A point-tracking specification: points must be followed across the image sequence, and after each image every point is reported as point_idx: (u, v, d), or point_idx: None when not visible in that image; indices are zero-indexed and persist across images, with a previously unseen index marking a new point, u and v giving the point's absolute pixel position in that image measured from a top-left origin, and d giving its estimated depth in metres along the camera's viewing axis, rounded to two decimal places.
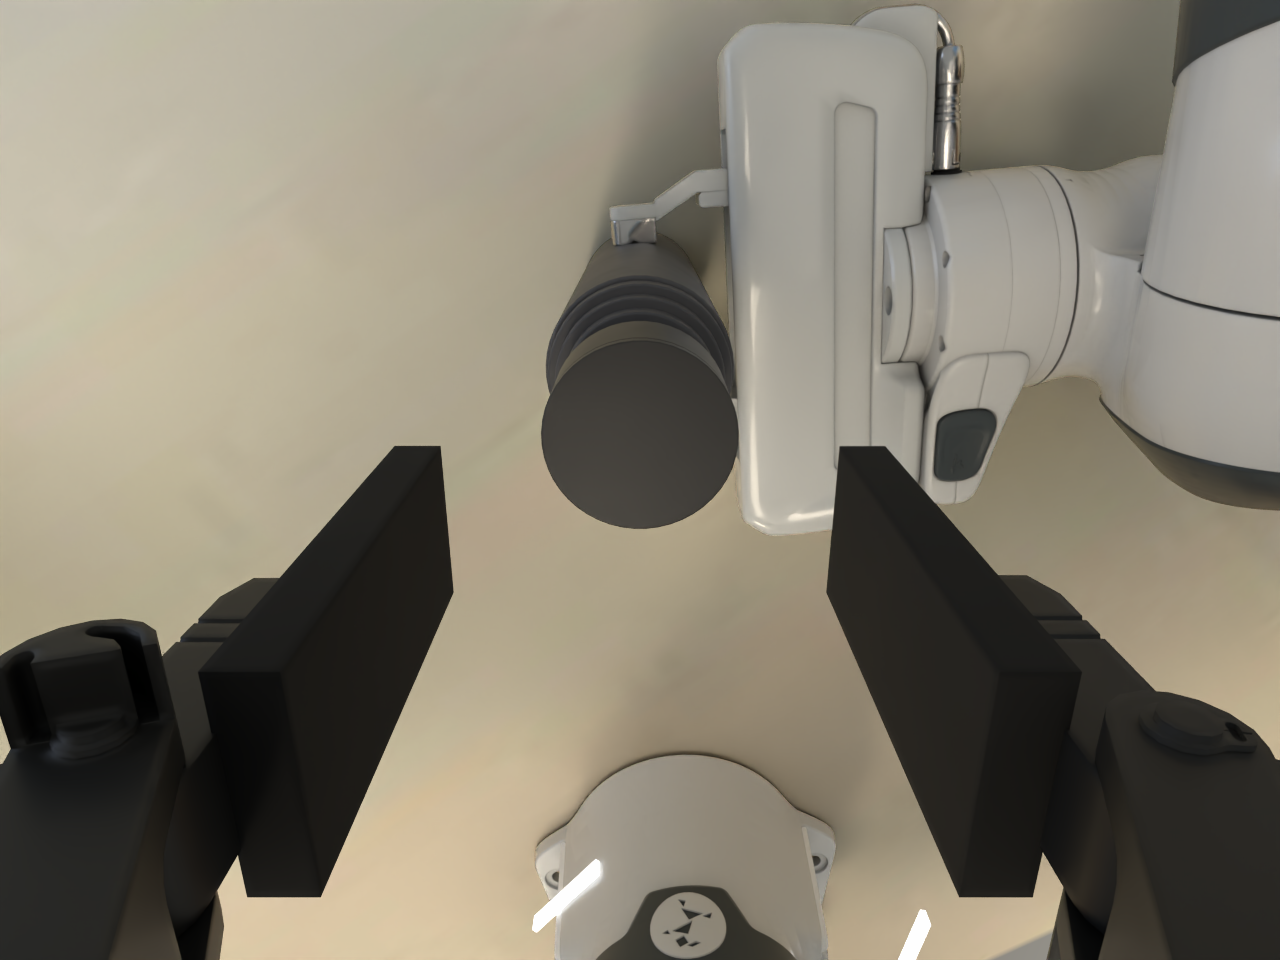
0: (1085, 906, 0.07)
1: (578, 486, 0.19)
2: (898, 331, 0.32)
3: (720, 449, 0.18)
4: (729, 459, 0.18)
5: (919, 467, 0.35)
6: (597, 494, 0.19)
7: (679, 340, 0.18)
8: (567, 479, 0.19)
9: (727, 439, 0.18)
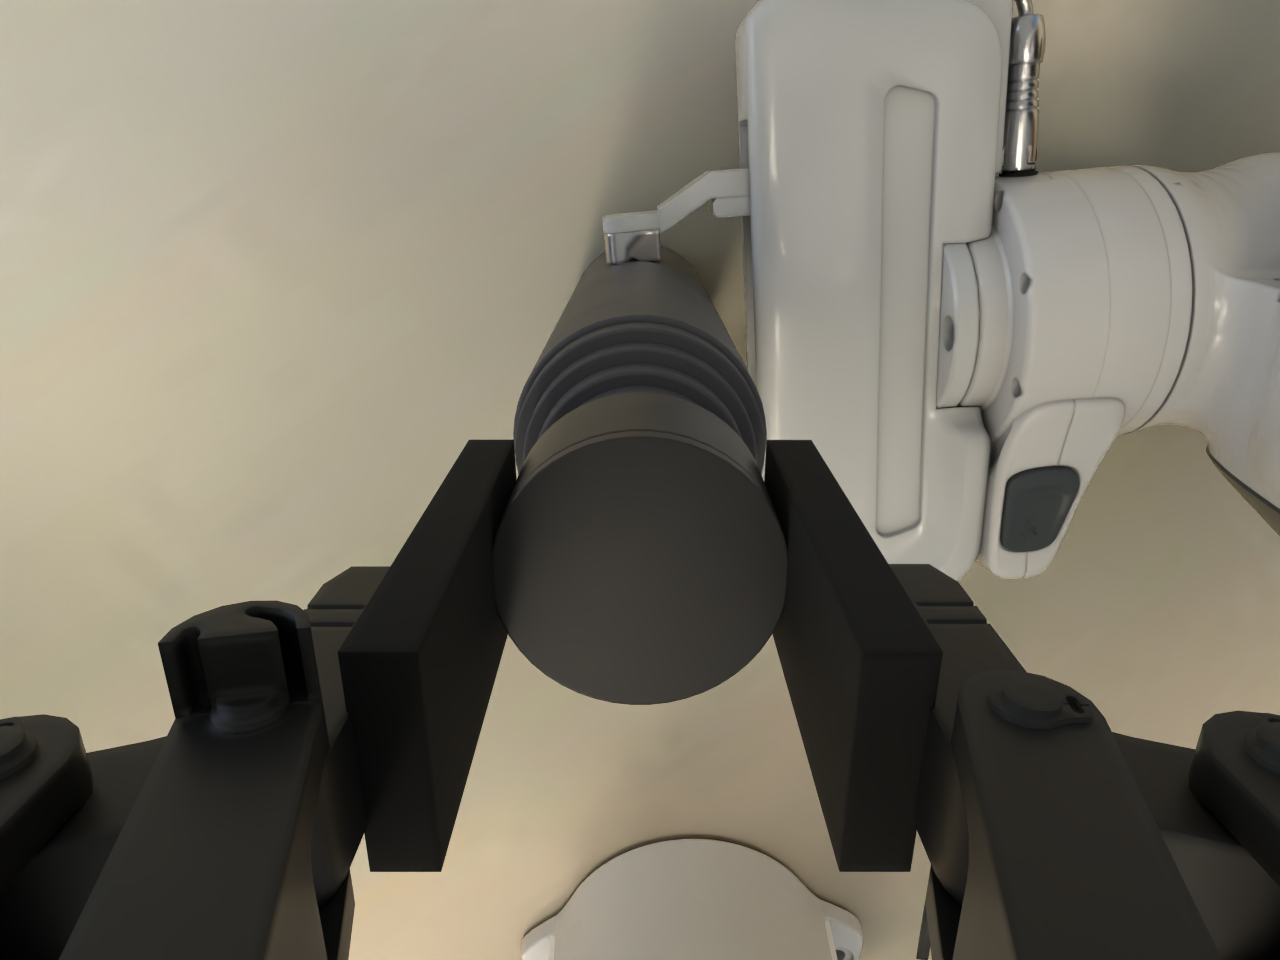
0: (948, 883, 0.08)
1: (547, 646, 0.12)
2: (960, 371, 0.26)
3: (762, 594, 0.12)
4: (775, 608, 0.12)
5: (981, 533, 0.28)
6: (576, 657, 0.13)
7: (699, 429, 0.12)
8: (531, 637, 0.12)
9: (772, 580, 0.12)
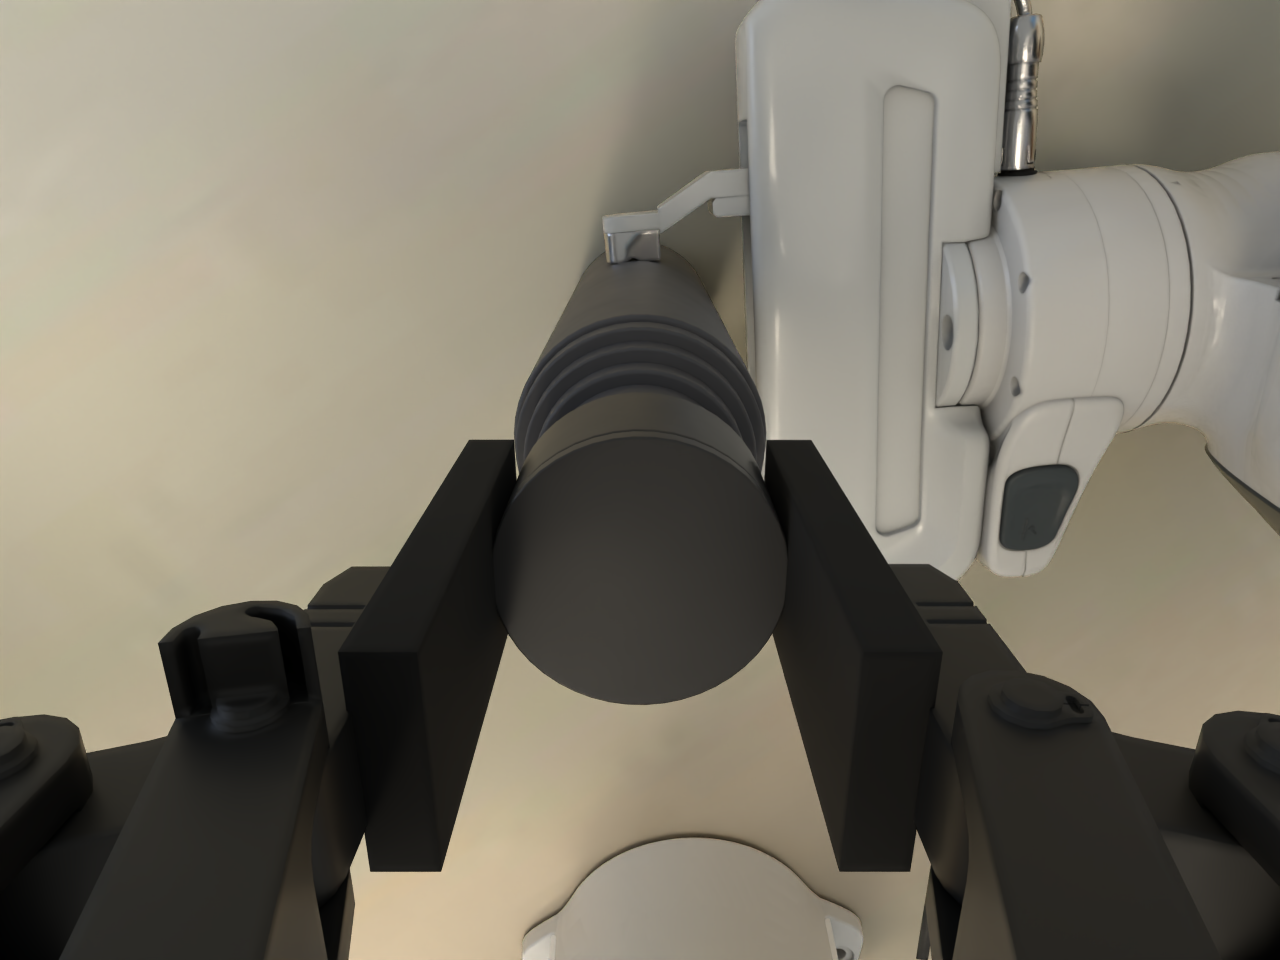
0: (948, 882, 0.08)
1: (711, 663, 0.13)
2: (960, 370, 0.26)
3: (661, 464, 0.11)
4: (679, 450, 0.11)
5: (980, 532, 0.28)
6: (726, 639, 0.12)
7: None
8: (699, 677, 0.13)
9: (645, 453, 0.11)
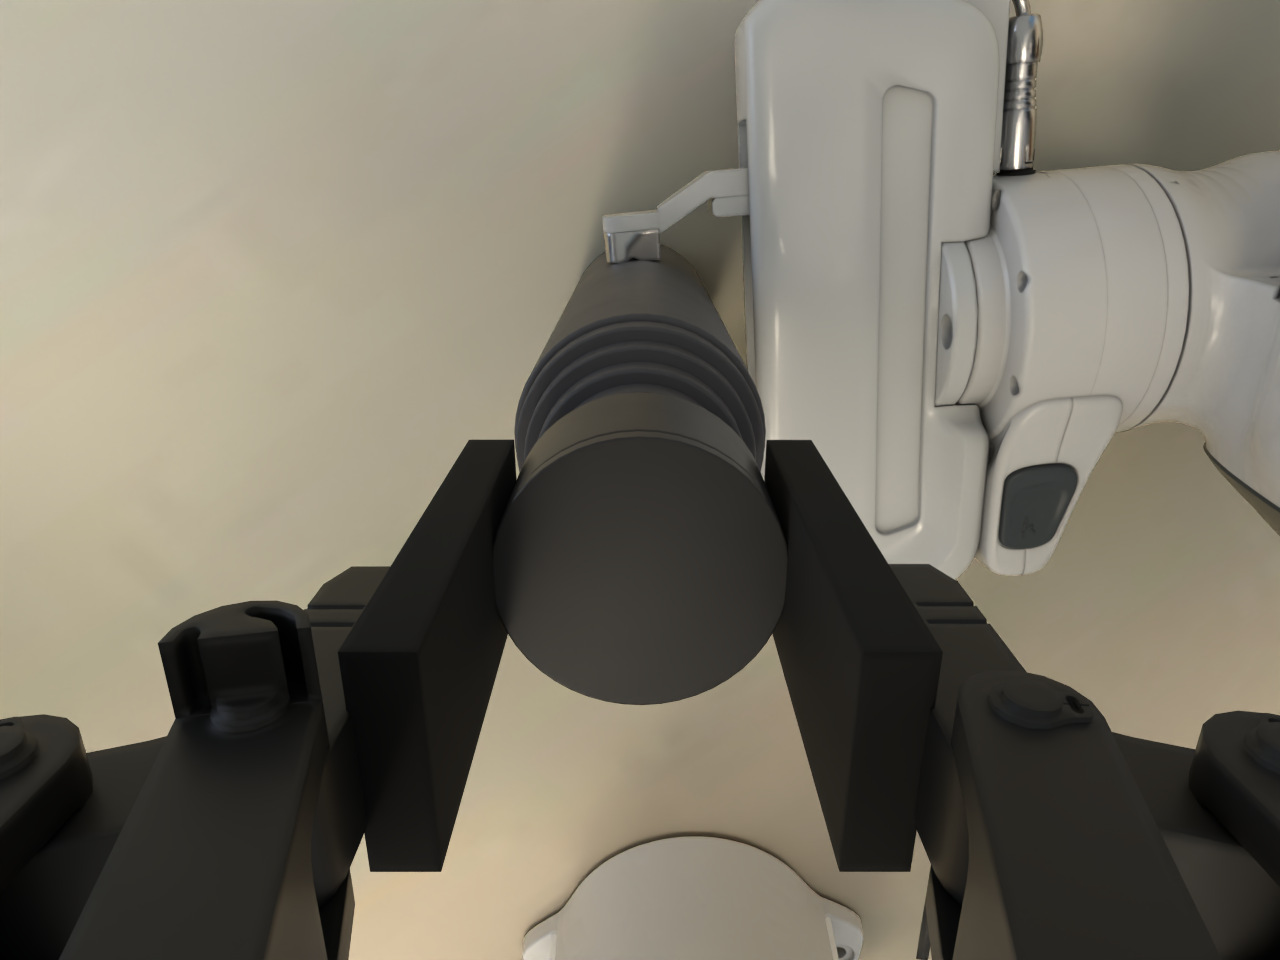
0: (949, 882, 0.08)
1: (742, 513, 0.12)
2: (959, 369, 0.26)
3: (517, 558, 0.12)
4: (502, 542, 0.12)
5: (979, 531, 0.28)
6: (713, 499, 0.12)
7: None
8: (758, 525, 0.12)
9: (507, 572, 0.12)
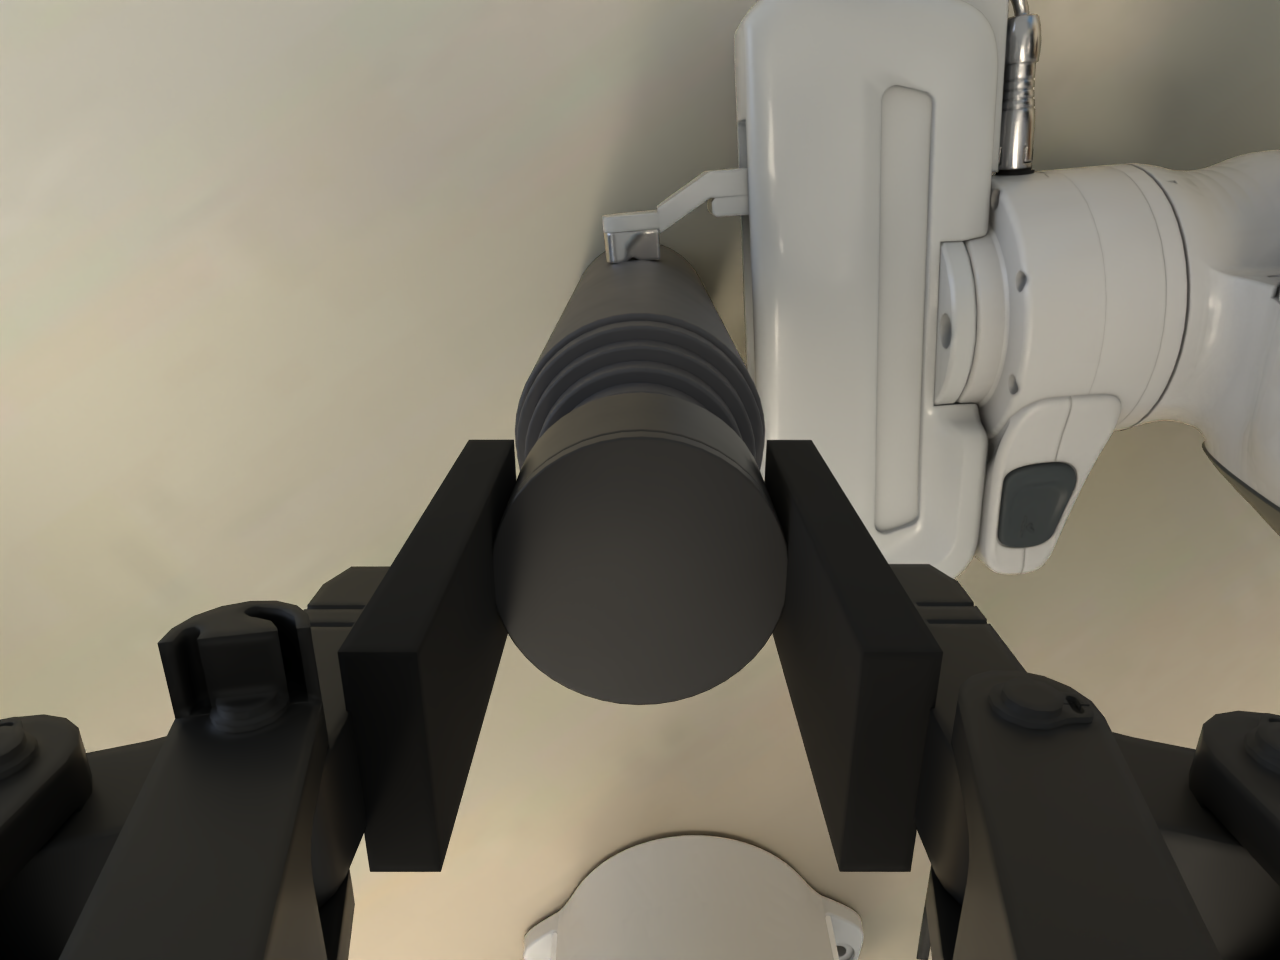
0: (949, 882, 0.08)
1: (567, 486, 0.12)
2: (958, 368, 0.26)
3: (614, 682, 0.13)
4: (598, 692, 0.13)
5: (979, 530, 0.29)
6: (551, 512, 0.12)
7: None
8: (580, 470, 0.11)
9: (629, 691, 0.13)
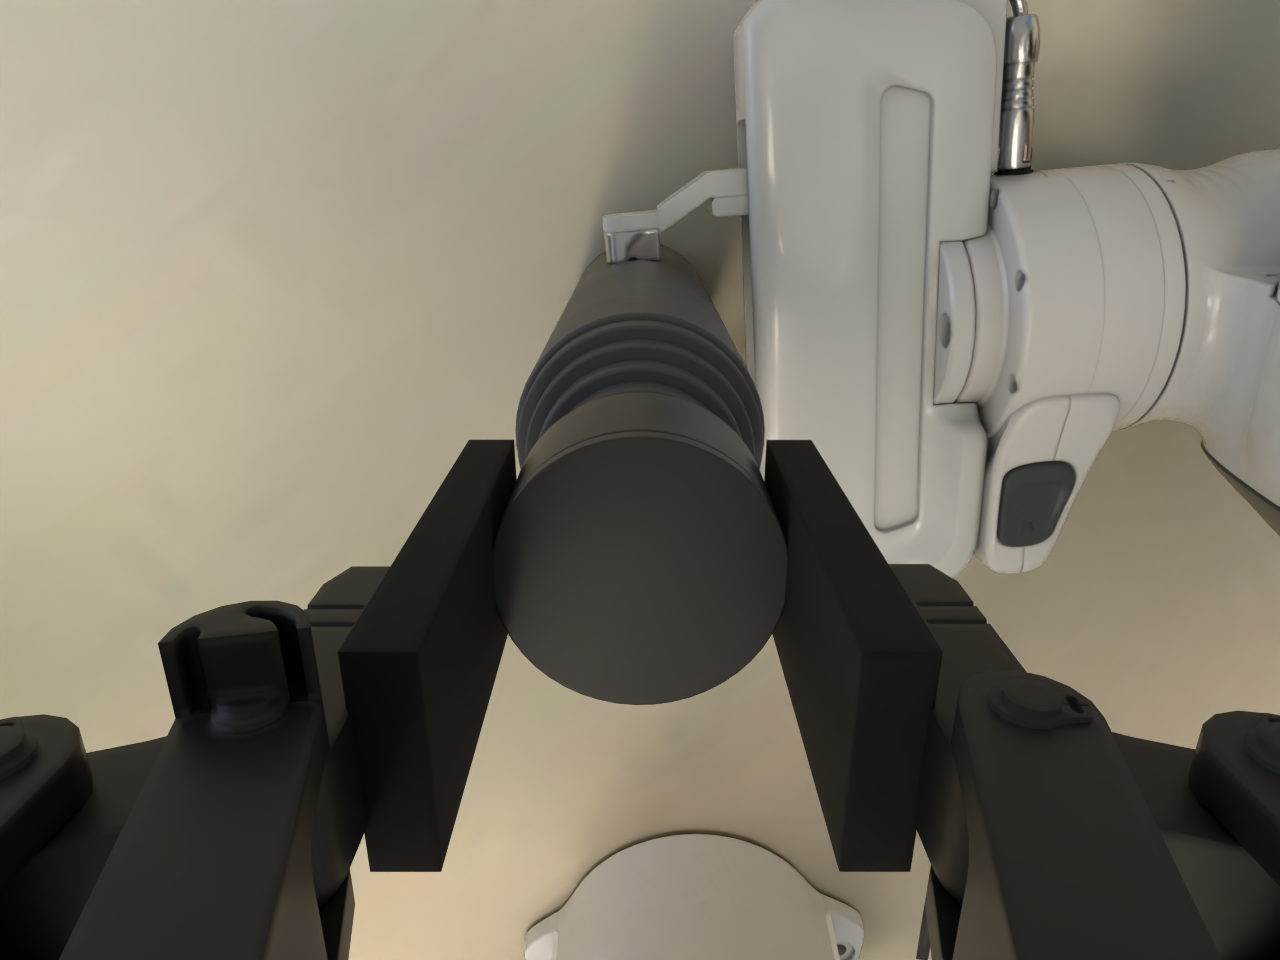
0: (949, 882, 0.08)
1: (540, 638, 0.12)
2: (957, 367, 0.26)
3: (758, 606, 0.12)
4: (770, 620, 0.12)
5: (978, 528, 0.29)
6: (567, 651, 0.13)
7: (713, 435, 0.12)
8: (524, 627, 0.12)
9: (771, 592, 0.12)
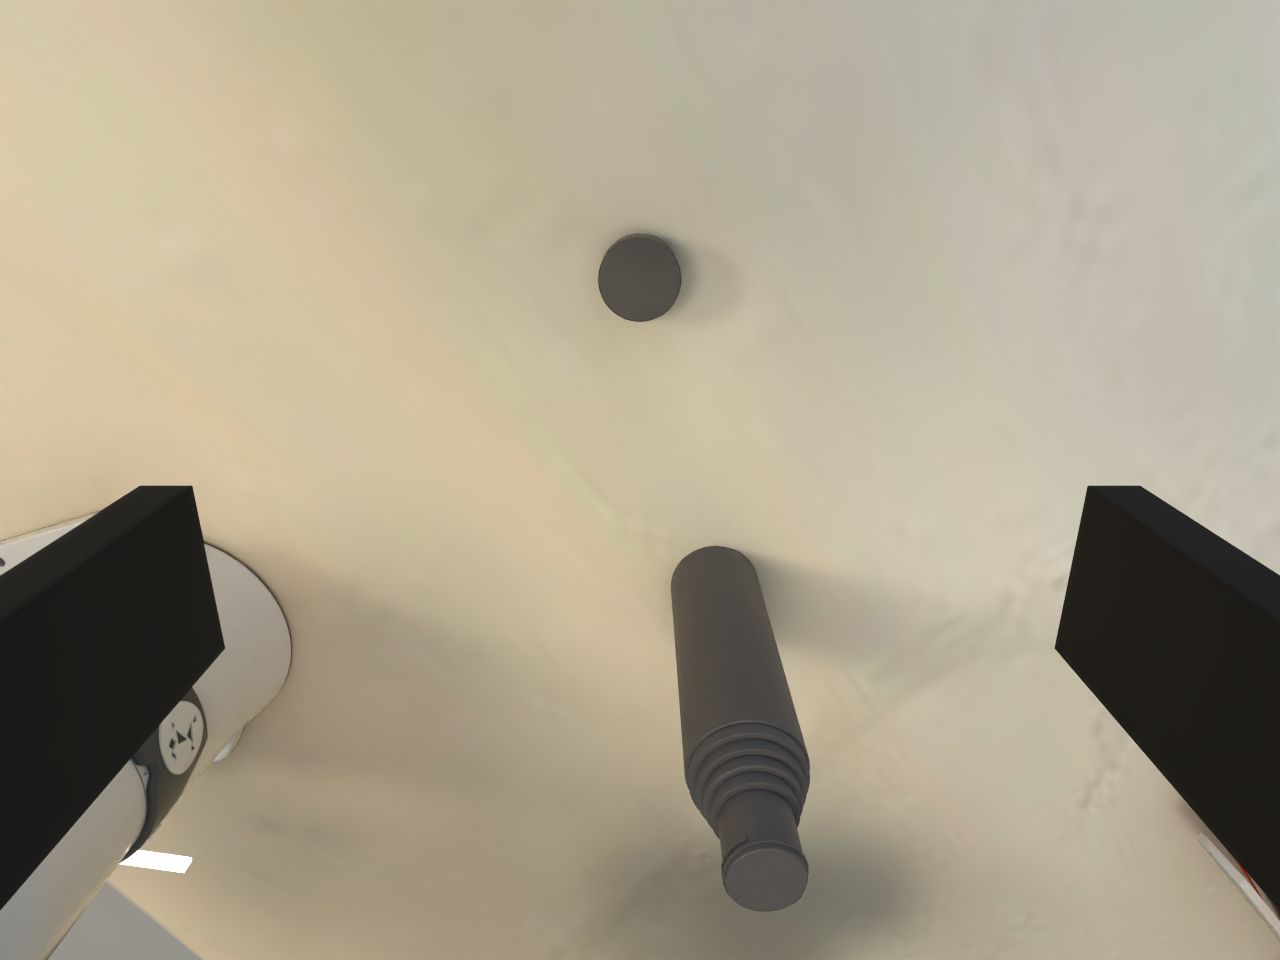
0: None
1: (657, 309, 0.44)
2: None
3: (648, 246, 0.43)
4: (653, 242, 0.43)
5: None
6: (661, 301, 0.44)
7: None
8: (653, 313, 0.44)
9: (644, 242, 0.43)
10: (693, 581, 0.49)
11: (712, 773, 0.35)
